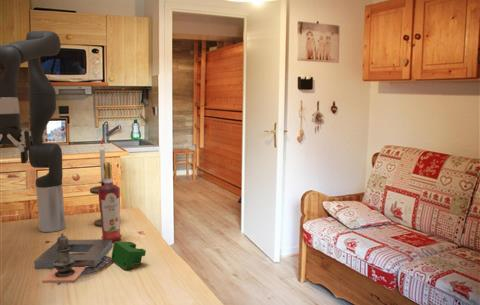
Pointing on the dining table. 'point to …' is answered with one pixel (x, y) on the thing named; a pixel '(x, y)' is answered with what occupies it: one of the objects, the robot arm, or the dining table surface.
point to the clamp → (127, 254)
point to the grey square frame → (92, 247)
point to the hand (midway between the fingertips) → (10, 163)
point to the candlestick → (95, 189)
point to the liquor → (109, 206)
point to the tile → (71, 278)
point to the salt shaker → (63, 258)
